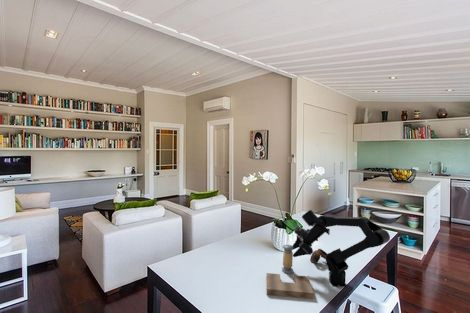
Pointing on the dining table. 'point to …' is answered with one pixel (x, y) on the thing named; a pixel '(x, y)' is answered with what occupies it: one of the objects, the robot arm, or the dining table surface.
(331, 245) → the dining table surface
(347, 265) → the robot arm
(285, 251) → the bobbin
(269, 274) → the notched board
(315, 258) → the pottery mug
